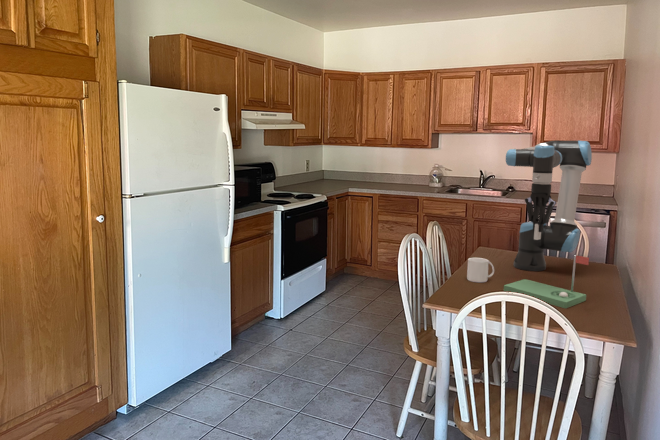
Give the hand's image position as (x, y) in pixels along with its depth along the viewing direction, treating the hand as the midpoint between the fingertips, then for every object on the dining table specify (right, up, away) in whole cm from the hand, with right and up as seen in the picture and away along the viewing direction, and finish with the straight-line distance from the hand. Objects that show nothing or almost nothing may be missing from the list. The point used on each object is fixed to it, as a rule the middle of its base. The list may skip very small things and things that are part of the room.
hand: (537, 239), depth 208 cm
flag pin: (+13, -24, -7) cm, 28 cm away
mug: (-18, -20, +19) cm, 33 cm away
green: (+1, -23, -3) cm, 24 cm away
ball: (+7, -23, -9) cm, 25 cm away
